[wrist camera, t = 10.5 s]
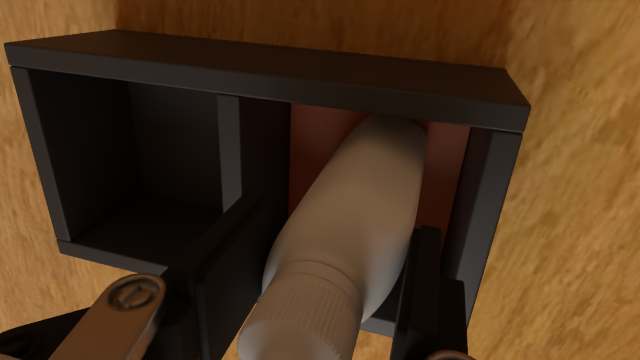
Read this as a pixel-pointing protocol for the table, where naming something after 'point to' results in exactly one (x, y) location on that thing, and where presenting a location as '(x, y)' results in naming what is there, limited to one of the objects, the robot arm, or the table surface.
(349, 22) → the table surface
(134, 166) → the divided storage box
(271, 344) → the eye dropper bottle
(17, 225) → the table surface
